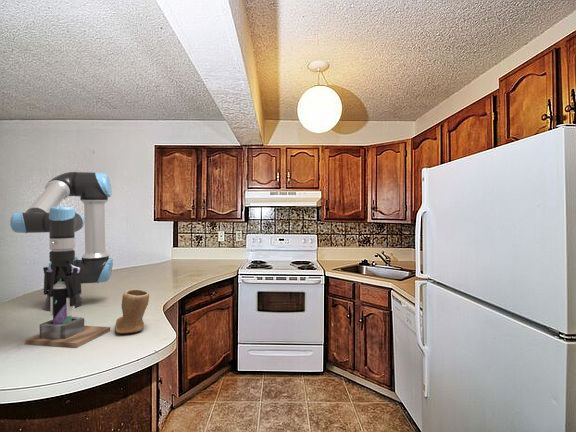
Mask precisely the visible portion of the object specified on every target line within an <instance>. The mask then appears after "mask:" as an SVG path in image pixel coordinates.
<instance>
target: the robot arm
mask: <svg viewBox="0 0 576 432" xmlns="http://www.w3.org/2000/svg"><path fill="white" fill-rule="evenodd" d="M68 197H80V198H79V200H80V202H81V203H83V211H84V213H83V215H84V217H83V216H82V214H80V213H78V212H75V208H74V207H72V206H60V204H61V203H62V201H63V200H65V199H67V198H68ZM111 197H112V184H111V180H110V178H109V176H108V174H106V173H105V172H104V173H103V172H97V171H96V172H89V171H88V172H86V171H84V172H83V171H70V172H69V171H68V172H64V173H62V174H59V175H55V177H53V178H51V179H50V180H49V181H48V182H47V183H45V186H44V190H43V191H42V193H41V194H40V195H39V196H38V197H37V198H36V199H35V201H33V203H32V204H31V206H30V207H29V208H27V210H26V211H25V212H23V211H21V212H15V213H13V214H12V215H11V217H10V221H9V222H10V228H11V230H12V232H13V233H16V234H17V233H19V234H21V233H22V234H24V233H25V234H29V233H30V234H35V233H36V234H37V233H41V234H42V233H48V234H49V236H48V237H49V239H48V240H49V250H51V251H49V258H48V259H49V263H48V266H44V267H42V271H43V274H44V276H43V295H45V296H46V299H45V302H44V303H43V310H44V311H48V312H49V311H50V316H52V317H53V287H54V286H53V285H54V284H56V283H57V282H58V281H59V280H60V277H62V278H63V279H64V281H65V285H66V288H67V292H68V297H67V298H66V305H67V316H71V315H72V316H73V315H76V314H75V313H76V312H75V311H76V310H75V308H79V307H80V306H82V305H83V299H82V298H81V294H82V284H101V283H106V282H108V281H109V280H110V278H111V275H112V271H113V264H114V263H113V261H114V260H113V259H112V258H109V257H110V255H109V253H108V252H106V225H105V223H106V220H105V217H106V214H105V204H106V203H107V202H108V199H109V198H111ZM83 227H84V253H83V254H82V255H81V259H79V258H78V256H76V251H75V250H74V249H76V241H75V239H76V238H75V235H76V234H75V233H76V232H78V231H80V230H82V229H83Z"/></svg>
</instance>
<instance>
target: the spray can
mask: <svg viewBox="0 0 576 432" xmlns="http://www.w3.org/2000/svg"><path fill="white" fill-rule="evenodd" d="M53 286H54V287H53V316H52V320H53V324H60V325H63V324H66V323H69V322H71V321H72V317H73V315H71V316H67V305H66V298H67V297H68V292H67V288H66V285H65V281H64V279H63V278H62V277H60V280H59V281H58V282H57V283H56V284H54V285H53Z"/></svg>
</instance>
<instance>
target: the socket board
mask: <svg viewBox="0 0 576 432" xmlns="http://www.w3.org/2000/svg"><path fill="white" fill-rule="evenodd" d="M110 332H111V327H110V326H97V325H85V317H82V316H72V321H71V322H69V323H66V324H63V325H60V324H53V319H50V320H47V321H45V322H43V323H40V324H39V333H38V334H35V335H33V336H31V337H29V338H26V339H24V345H31V346H48V347H59V348H60V347H61V348H73V349H74V348H76V349H78V348H79V347H81V346H83V345H85V344H87V343H89V342H91V341H93V340H96V339H98V338H99V337H101V336H104V335H106V334H107V333H110Z"/></svg>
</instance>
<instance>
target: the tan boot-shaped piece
mask: <svg viewBox="0 0 576 432" xmlns="http://www.w3.org/2000/svg"><path fill="white" fill-rule="evenodd" d="M149 301H150V293H149V292H148V291H146V290H143V289H137V288H133V289H132V288H131V289H127V290H125V291H124V292H123V295H122V298H121V311H122V312H121V313H122V316H120V317H118V318H116V321H115V327H114V330H115V332H116V333H118V334H132V333H137V332H141V331H142V330H143V329H144V327H145V322H144V320H143V317H144V314H145V311H146V310H147V307H148V305H149Z"/></svg>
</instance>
